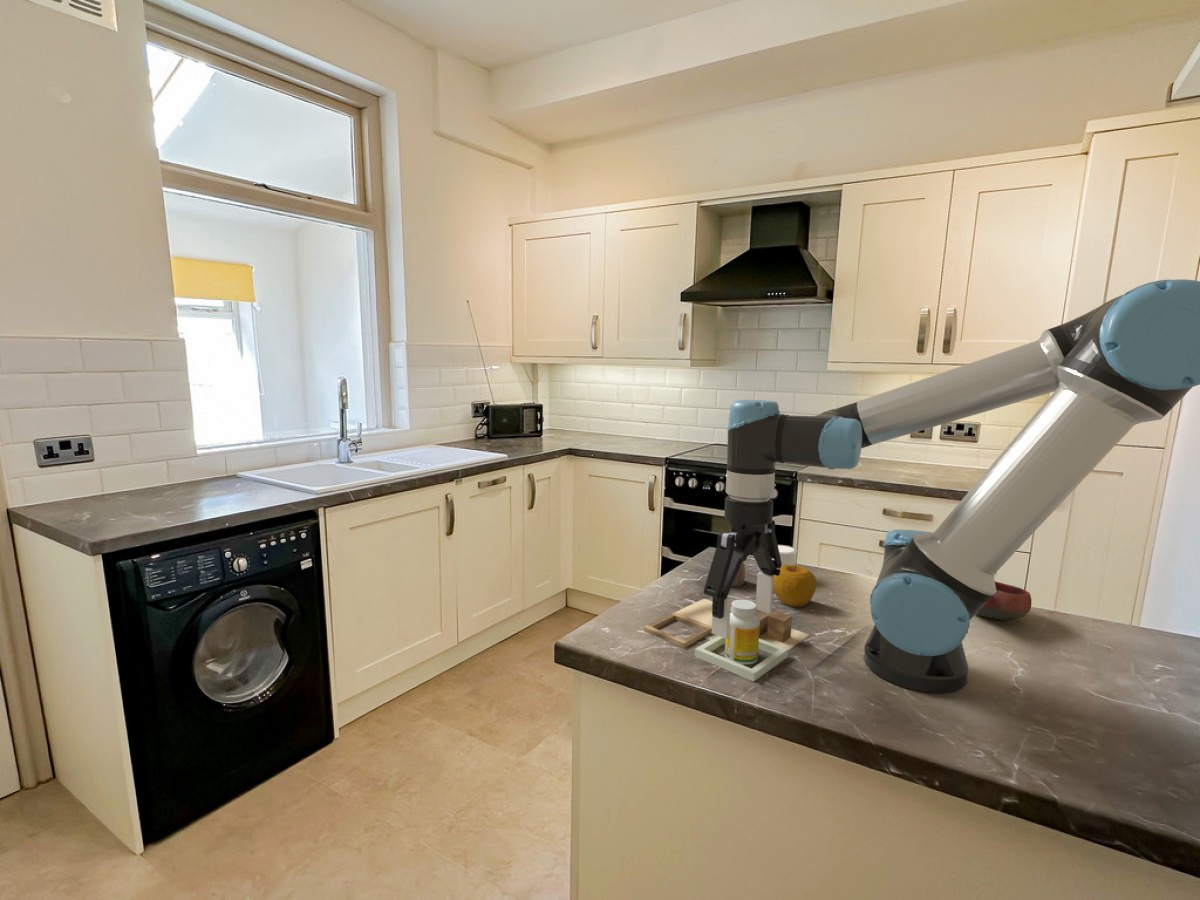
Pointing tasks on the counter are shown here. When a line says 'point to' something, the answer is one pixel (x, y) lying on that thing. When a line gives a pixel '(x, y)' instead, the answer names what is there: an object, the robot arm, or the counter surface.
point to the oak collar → (672, 639)
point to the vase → (740, 576)
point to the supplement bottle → (743, 633)
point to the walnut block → (762, 621)
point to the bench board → (775, 634)
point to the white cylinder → (787, 555)
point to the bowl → (1007, 603)
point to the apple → (794, 585)
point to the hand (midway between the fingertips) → (742, 622)
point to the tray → (741, 670)
